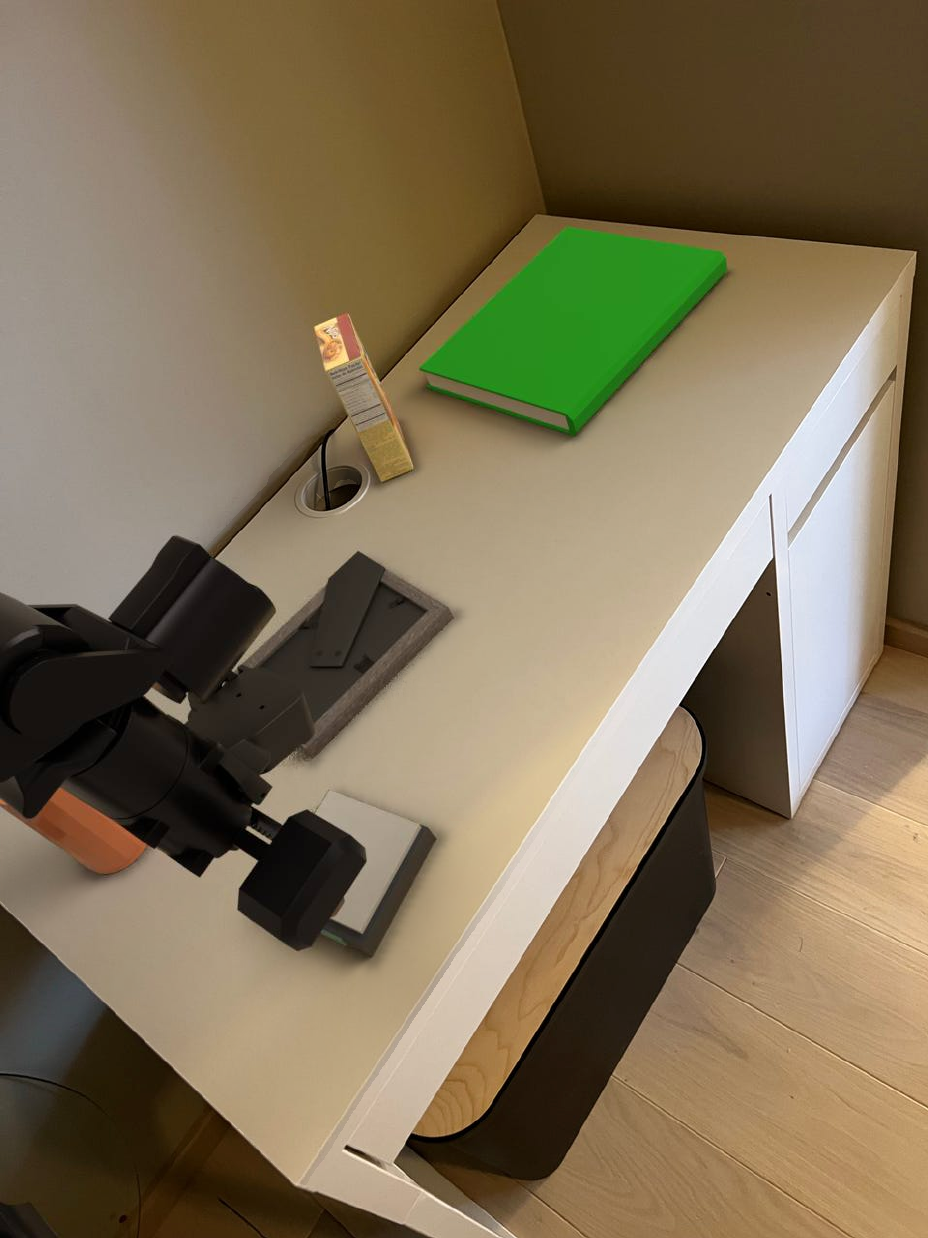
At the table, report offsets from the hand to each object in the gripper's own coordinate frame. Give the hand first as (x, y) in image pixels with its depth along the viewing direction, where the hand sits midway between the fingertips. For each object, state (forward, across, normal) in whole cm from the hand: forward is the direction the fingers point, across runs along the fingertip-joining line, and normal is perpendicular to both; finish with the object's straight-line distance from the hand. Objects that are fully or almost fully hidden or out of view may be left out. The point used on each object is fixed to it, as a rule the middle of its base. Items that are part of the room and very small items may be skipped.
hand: (287, 874), depth 61 cm
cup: (+14, +28, +5) cm, 31 cm away
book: (+19, +24, -67) cm, 73 cm away
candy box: (+17, +34, -44) cm, 58 cm away
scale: (+14, +5, -3) cm, 15 cm away
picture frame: (+16, +21, -20) cm, 32 cm away
